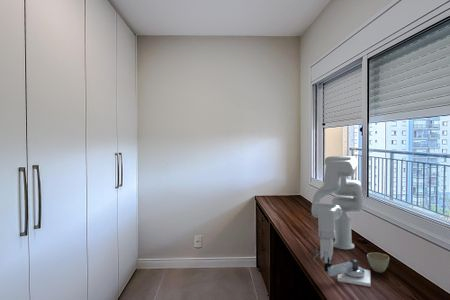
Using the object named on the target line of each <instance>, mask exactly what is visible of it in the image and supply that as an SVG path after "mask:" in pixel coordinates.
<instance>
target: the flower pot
mask: <svg viewBox="0 0 450 300" xmlns="http://www.w3.org/2000/svg"><path fill="white" fill-rule="evenodd" d="M366 258H367V261H368V263H369V266H370V267H371V269H372V270H373V271H374V272H377V273H384V272H385V271H386V269H387V268H388V266H389V263H390V257H389V255H387V254H384V253H381V252H369V253H367V254H366Z"/></svg>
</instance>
